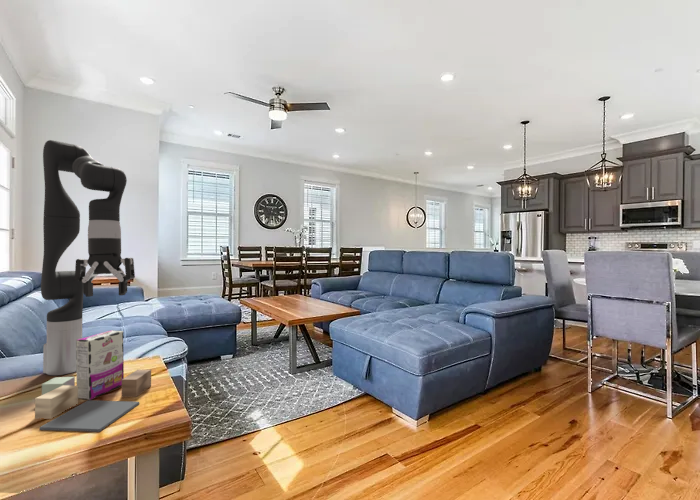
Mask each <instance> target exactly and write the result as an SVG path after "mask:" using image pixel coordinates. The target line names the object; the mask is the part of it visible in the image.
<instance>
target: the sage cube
mask: <svg viewBox="0 0 700 500" xmlns="http://www.w3.org/2000/svg"><path fill="white" fill-rule="evenodd" d="M75 379H76V378H75V376H62V377H60V376H58V377H53V378H51V379H49V380H48V381H45V382H43V383H41V395H43V394H46V393H48V392H50V391H52V390H54V389H56V388H59V387H61V386H63V385H71V386H76V385H75V383H76V382H75V381H76V380H75Z"/></svg>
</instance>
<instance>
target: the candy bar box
mask: <svg viewBox="0 0 700 500" xmlns="http://www.w3.org/2000/svg"><path fill="white" fill-rule="evenodd" d="M124 355H125V354H124V330H113V329H112V330H108V331H104V332H99V333H96V334H93V335H90V336H86V337H82V339H78V340H76V365H77V371H76V373H75V374H76V386H78V400H86V401H88V400H94V399H95V398H98V397H100V396H102V395H105V394H106V392H107V393H109V392H111V391H113V390H115V389H117V388H119V387H122V379H124V378H125V377H124V376H125V375H124V374H125V373H124V372H125V370H124V366H125V365H124Z"/></svg>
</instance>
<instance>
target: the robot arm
mask: <svg viewBox="0 0 700 500" xmlns="http://www.w3.org/2000/svg"><path fill="white" fill-rule="evenodd" d="M42 150H43V151H42V164H43V178H44V201H43V202H44V203H43V225H42V227H43V257H42V258H43V259H42V268H41V279H40V280H41V281H40V293H41V297H42V299H44V300H46V301H56V300H67V299H69V301H68V302H67V303H65V304H64V305H62V306H60V307H57V308H55V309H52V310H49V311H48V312H47V313H46V343H44V344H43V346H42V347H43V348H42V349H43V357H42V359H43V361H42V365H43V366H42V374H46V375H47V376H61V375H67V374H72V373H75V372H76V371H77V365H76V340H78V339H82V338H83V310H84V307H83V306H84V305H83V304H84V296H85V297H93V296H94V282H93V281H94V279H95V278H96V277H97V276H99V275H103V274H105V275H110V274H112V275H113V276H114V277H116V279H117V280H118V295H119V296H125V295H126V293H128V282H129V281H130V280H133V279H135V277H136V275H135V274H136V272H135V262H134V261H135V260H134V258H133V257H125V258H122V227H121V222H120V220H121V218H120V216H121V215H120V214H121V213H120V208H121V202H122V198H123V195H124V192H125V188H126V186H127V181H128V180H127V175H126V174H125V171H124V170H123V169H122V168H121V169H120V168H119V167H113V166H107V165H104V164H103V163H101V162H100V161H98V160H96V159H95V158H93V157H92V155H91V154H90V153H89V152H88V150H87V149H85V148H84V147H83V146H80V145H77V144H72V143H68V142H63V141H57V140H51V139H49V140H46V141H45V143H44V145H43V149H42ZM60 171H61V172H65V173H66V172H67V173H71V174H72V173H73V174H74V175H75V177H77V178H79V179H80V183H81V185H82V187H83V188H85V189H87V190H91V191H100V192H107V193H108V195H107V197H105V198H94V199H92V200H90V201H89V203H88V227H87V253H88V256H89V257H88V259H85V258H78V259H75V268H74V270H61V271H57V267H58V266H57V265H58V264H59V261H60V259H61V257H62V256H63V254H64V253H65V252H66V251H67V249H68V248H69V247H70V245H72V243H73V242H74V241H75V240H76V239H77V237H78V236H79V235H80V234H79V233H80V231H81V228H80V227H81V213H80V210H79V209H78V207H77V205H76V204H75V202H74V201H73V199H72V198H71V196H70V195H69V194H68V192H67V191H66V189H65V187H64V186H63V184H62V181H61V178H60V173H59V172H60ZM121 265H123V266H124V270H125V271H124V270H123V269H122V268H121ZM87 266H89V267H90V268H89V269H88V270H87Z"/></svg>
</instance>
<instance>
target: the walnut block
mask: <svg viewBox="0 0 700 500" xmlns="http://www.w3.org/2000/svg"><path fill="white" fill-rule="evenodd" d="M151 386H152V369H136V370H134V372H133V371H132V373H131V372H130V374H128V375H126V377H124V379H122V386H121V398H137V397H139V396H140V395H141V394H143V393H144V392H145V391H146V390H147V389H149V388H150V387H151Z"/></svg>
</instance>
